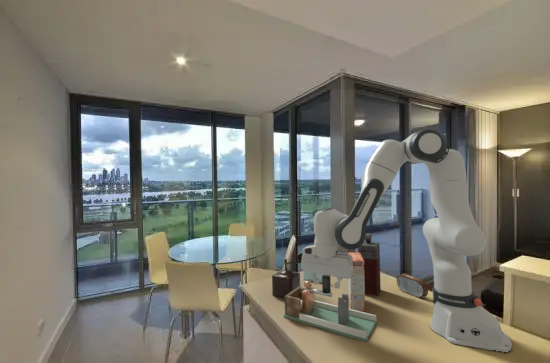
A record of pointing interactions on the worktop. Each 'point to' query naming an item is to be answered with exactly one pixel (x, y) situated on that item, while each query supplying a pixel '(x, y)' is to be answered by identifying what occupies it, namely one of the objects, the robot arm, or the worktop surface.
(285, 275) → the manual coffee grinder
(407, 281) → the tin
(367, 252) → the toy vending machine
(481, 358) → the worktop surface
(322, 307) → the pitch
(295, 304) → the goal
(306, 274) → the right angle wall
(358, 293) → the cracker box
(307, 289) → the black head mallet
